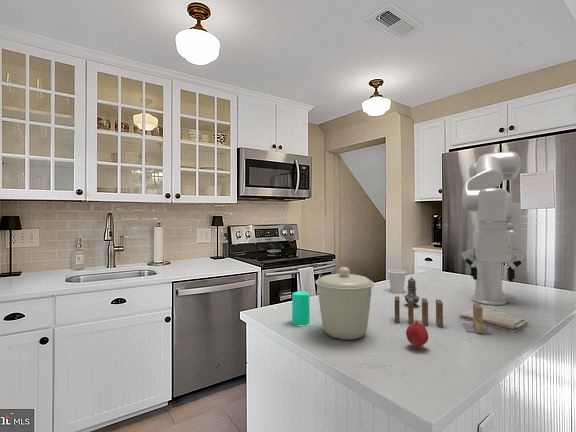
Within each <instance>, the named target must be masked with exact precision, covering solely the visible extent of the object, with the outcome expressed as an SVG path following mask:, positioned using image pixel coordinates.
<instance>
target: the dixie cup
mask: <svg viewBox="0 0 576 432" xmlns="http://www.w3.org/2000/svg"><path fill="white" fill-rule="evenodd" d="M387 272H388V278H389V279H388V280H389V286H390V292H391V293H395V294H403V293H404V288H405V281H406V273H407V271H405V270H402V269H388V270H387Z"/></svg>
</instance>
